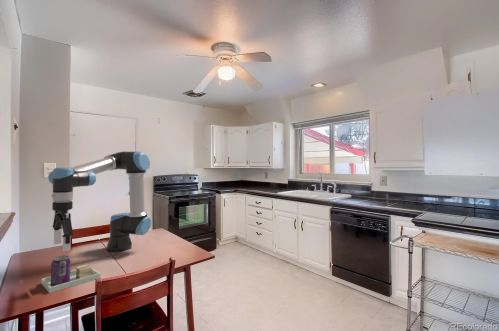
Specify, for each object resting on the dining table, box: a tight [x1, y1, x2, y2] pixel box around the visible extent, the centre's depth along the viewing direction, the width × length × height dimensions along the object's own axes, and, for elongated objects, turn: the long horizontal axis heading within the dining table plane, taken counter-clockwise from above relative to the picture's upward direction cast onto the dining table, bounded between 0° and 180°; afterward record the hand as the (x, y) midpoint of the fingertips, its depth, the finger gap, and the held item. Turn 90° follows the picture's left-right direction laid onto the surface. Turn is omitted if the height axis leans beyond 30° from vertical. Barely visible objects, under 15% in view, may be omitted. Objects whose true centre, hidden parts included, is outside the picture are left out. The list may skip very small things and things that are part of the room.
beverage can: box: [50, 255, 71, 286], centre depth 117 cm, size 7×7×12 cm
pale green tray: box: [41, 267, 101, 294], centre depth 121 cm, size 13×20×3 cm, turn 141°
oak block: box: [75, 263, 93, 279], centre depth 125 cm, size 5×5×5 cm
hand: (61, 247), depth 118 cm, fingers open, 13 cm apart
